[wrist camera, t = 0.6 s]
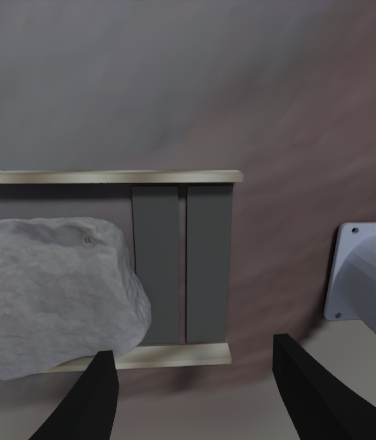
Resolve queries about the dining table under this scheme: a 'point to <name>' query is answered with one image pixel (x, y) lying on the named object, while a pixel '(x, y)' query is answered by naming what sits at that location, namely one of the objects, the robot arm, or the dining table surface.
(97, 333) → the stone block
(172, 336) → the tiles
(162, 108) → the dining table surface
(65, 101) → the dining table surface
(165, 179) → the grey cream flat frame
